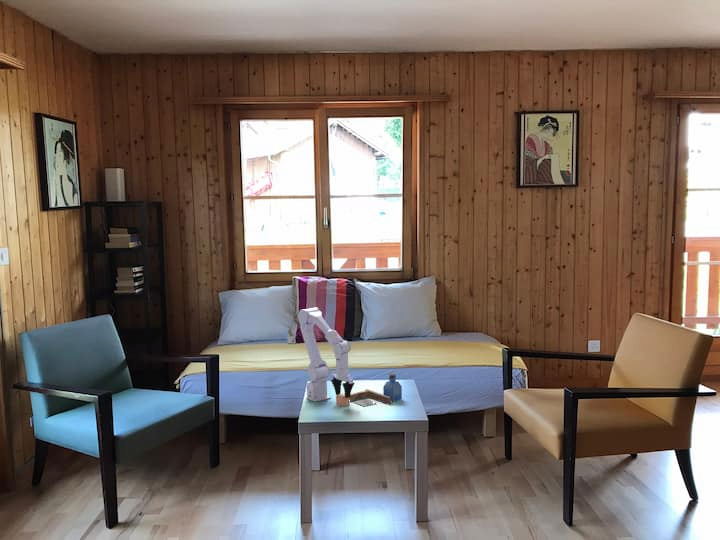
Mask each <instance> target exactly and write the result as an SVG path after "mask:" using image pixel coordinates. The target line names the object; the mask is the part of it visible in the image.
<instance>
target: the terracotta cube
mask: <svg viewBox="0 0 720 540" xmlns="http://www.w3.org/2000/svg"><path fill="white" fill-rule="evenodd" d="M350 402H351V401H349V398H345V392H342V393H340V394H337V395H336V394H335V404H336V405H338V404H339V405H338V406H340V405H341V407H344V406H347V405H346V404H349V405H350ZM343 405H344V406H343Z"/></svg>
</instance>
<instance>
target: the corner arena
mask: <svg viewBox="0 0 720 540" xmlns="http://www.w3.org/2000/svg"><path fill="white" fill-rule="evenodd" d="M365 397H367V398H365ZM370 397H371V398H370ZM368 398H370V399H373V398H374V399H373V400H370V399H368ZM357 399H358V401H357ZM361 399H362V400H361ZM375 399H377V400H376V401H374V400H375ZM349 400H350V401H349V402H352V401H353V400H354V402H353V404H355V403H356V405H358V404H359V405H358V406H361V407H363V406H364V407H363V408H365V406H366V407H369V406H368V405H370V406H373V405H372V404H373V401H374V402H375V403H374V405H377V404H376V403H378V400H380V401H379V402H381V401H383V402H382V403H384V402H385V403H384V404H387V403H388V405H390V403H391V404H392V402H391V397H389V396H386V395H383V394H382V393H379V392H377V391H373V390H371V389H368V388H367V389H364V390H362V391H359V392H354V393H351V394H350V397H349Z"/></svg>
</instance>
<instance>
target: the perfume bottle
mask: <svg viewBox="0 0 720 540" xmlns="http://www.w3.org/2000/svg"><path fill="white" fill-rule="evenodd" d="M388 376H389V377H388V380H387V381H386V382H385V383H384V385H383V386H382V387H383V388H382V389H383V390H382V391H383V395H386V396H389V397H391V401H392V402H391V403H395V402H398V401H402V400H403V399H402V398H403V396H402V395H403V394H402V393H403V388H402V387H403V386H402V385H401V384H400V382H399V381H397V376H396V374H394V373H391V374H389V375H388ZM401 399H402V400H401ZM397 400H398V401H397ZM394 401H395V402H394Z"/></svg>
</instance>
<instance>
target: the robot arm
mask: <svg viewBox="0 0 720 540" xmlns="http://www.w3.org/2000/svg"><path fill="white" fill-rule="evenodd" d="M297 318H298V322H299V327H300V332H301V335H302V339H303V342H304V345H305V348H306V351H307V355H308V358H309V361H310V363H309V364H308V366H307V370H308V372H307V373H308V374H307V375H308V378H309V379H310V381H308V382H307V384H306V398H305V399H308V400H310V401H312V402H319V401H324V400H325V401H326V400H329V399H332V397H331V396H329V395H328V379H329V377H330V376H331V380H330V383H331V384H332V386H333V389H334V392H335V393H334V394H335V396H336V395H337V394H342V393H341V391H342V389H341V388H342V387H343V390H344V393H345V398H349V397H350V394H352V389H353V387H354V386H355V382H354V378H352V377H351V375H350V374H349V353H350V351H351V345H350V343H349V341H347V340H344V338H343V337H341V336H340V334H339V333H338V331H337V330H335V329H331V327H330V326H329V324H328V323H327V322H326V320H325V319H324V318H323V313H322V311H321V310H320V309H319V308H318V307H316V306H315V307H311V308H310V307H309V308H305V309H299V312H298V315H297ZM314 325H316V326H317V327H318V328H319V329H320V330H321V331H322V332H323V333H324V334H325V336H324V337H325V339H326V341H327V342H328V343H329V344H330V345H331V346H332V351H333V354H334V357H335V372H336V373H332V374H331V369H330V367H329V366H328V364H327V362H326V361H325V360H324V359H322V357H321V353H320V350H319V347H318V343H317V340H316V337H315V334H314V330H313V328H314Z"/></svg>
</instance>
